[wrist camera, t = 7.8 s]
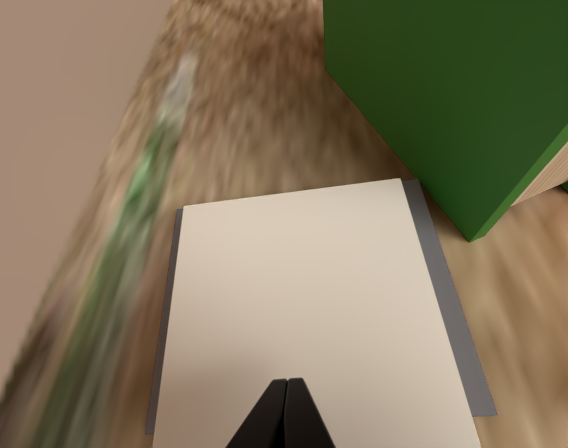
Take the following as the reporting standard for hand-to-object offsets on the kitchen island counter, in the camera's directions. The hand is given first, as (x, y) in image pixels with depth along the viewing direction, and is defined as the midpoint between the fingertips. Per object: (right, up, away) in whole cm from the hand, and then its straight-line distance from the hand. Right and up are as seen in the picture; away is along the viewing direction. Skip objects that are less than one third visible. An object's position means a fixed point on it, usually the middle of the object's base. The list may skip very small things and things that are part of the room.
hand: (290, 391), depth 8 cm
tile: (+1, -4, +3) cm, 5 cm away
